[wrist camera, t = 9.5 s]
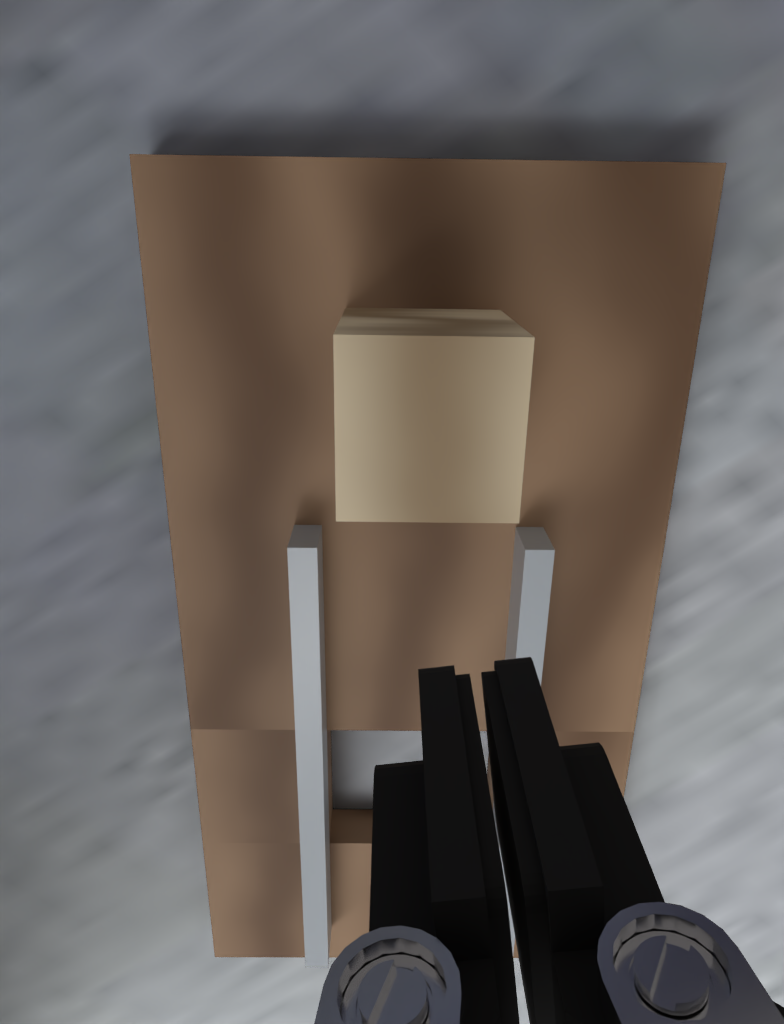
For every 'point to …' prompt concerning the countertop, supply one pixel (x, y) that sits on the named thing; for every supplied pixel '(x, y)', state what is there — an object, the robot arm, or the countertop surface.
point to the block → (430, 415)
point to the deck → (403, 545)
